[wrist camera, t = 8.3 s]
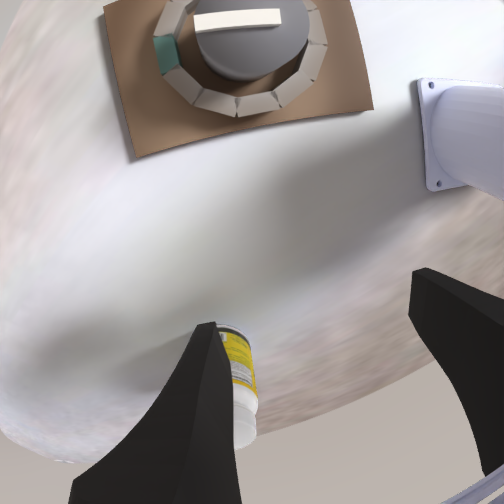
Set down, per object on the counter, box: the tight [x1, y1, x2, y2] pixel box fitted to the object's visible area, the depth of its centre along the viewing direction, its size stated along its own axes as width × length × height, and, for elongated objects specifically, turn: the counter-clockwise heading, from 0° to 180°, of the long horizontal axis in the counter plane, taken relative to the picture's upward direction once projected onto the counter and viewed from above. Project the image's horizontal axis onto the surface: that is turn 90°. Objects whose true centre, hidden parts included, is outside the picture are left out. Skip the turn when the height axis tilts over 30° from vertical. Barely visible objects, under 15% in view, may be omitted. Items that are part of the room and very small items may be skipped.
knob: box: [194, 0, 310, 83], centre depth 11 cm, size 4×4×5 cm
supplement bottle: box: [217, 325, 258, 450], centre depth 19 cm, size 5×5×8 cm
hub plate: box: [103, 0, 374, 158], centre depth 13 cm, size 14×10×2 cm
